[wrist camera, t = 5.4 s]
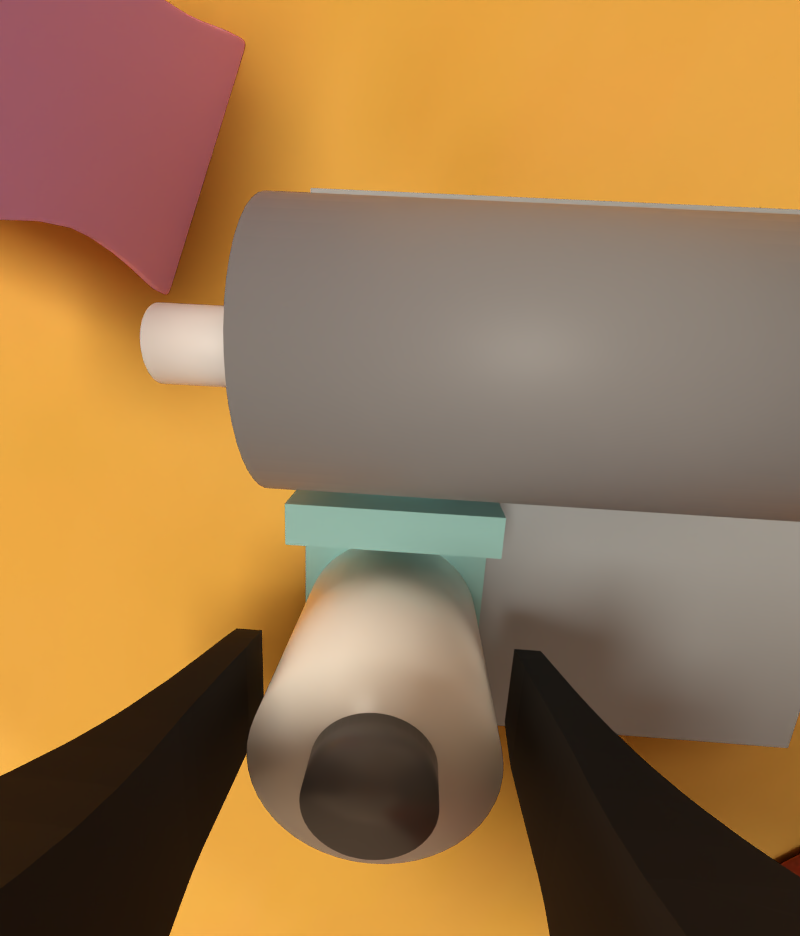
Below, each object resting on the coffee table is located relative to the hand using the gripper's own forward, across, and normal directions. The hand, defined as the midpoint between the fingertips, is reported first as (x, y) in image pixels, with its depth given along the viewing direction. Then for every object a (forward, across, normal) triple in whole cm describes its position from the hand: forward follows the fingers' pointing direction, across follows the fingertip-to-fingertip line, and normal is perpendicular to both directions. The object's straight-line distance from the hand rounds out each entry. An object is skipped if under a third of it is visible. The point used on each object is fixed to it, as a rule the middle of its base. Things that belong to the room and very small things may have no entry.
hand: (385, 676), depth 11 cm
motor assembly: (+4, -4, -4) cm, 6 cm away
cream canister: (+3, 0, 0) cm, 3 cm away
